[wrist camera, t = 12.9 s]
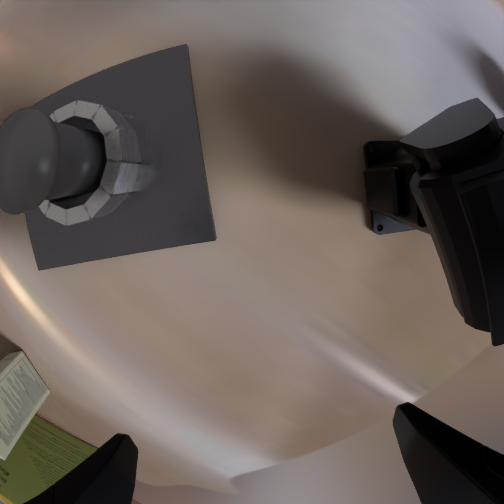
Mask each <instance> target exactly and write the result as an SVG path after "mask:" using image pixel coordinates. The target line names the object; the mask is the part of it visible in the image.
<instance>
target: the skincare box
mask: <svg viewBox="0 0 504 504" xmlns="http://www.w3.org/2000/svg"><path fill="white" fill-rule="evenodd" d="M49 394H50V390H49V389H48V388H47V386H46V385H45V383H44V382H43V381H42V379H41V378H40V376H39V375H38V374H37V372H36V371H35V369H34V368H33V366H32V365H31V363H30V362H29V360H28V359H27V357H26V356H25V354H24V352H23V351H18V352H13V353H9V354H7V355H6V356H5V357H4V358H3V359H2V360H1V361H0V458H1V459H3V460H6V458H7V456H8V455H9V453H10V452H11V450H12V448H13V447H14V445H15V444H16V442H17V440H18V439H19V437H20V436H21V434H22V433H23V431H24V430H25V428H26V427H27V425H28V424H29V422H30V421H31V419H32V418H33V416H34V415H35V414H36V412H37V411H38V409H39V408H40V406H41V405H42V404H43V402H44V401H45V399H46V398H47V397H48V395H49Z"/></svg>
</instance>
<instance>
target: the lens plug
mask: <svg viewBox="0 0 504 504" xmlns="http://www.w3.org/2000/svg"><path fill="white" fill-rule="evenodd" d="M106 163H107V156H106V148H105V139H104V135H103V134H102V133H100V132H96V131H92V130H88V129H84V128H80V127H76V126H71V125H67V124H62V123H58V122H54V121H53V120H52V119H51V117H50V116H49V115H48V114H46V113H45V112H42V111H39V110H35V109H30V108H23V109H20V110H17V111H16V112H14V113H12V114H11V115H10V116H9V117H8V118H7V119H6V120H5V121H4V122H3V124H2V125H1V127H0V208H1V209H2V210H3V211H5V212H7V213H9V214H20V213H24V212H28V211H31V210H33V209H35V208H37V207H38V206H39V205H40V204H41V203H42V202H43V201H44V200H49V199H55V198H61V197H67V196H73V195H80V194H87V193H93V192H95V191H96V190H97V189H98V188H99V187H100V183H101V180H102V176H103V173H104V170H105V166H106Z"/></svg>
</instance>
